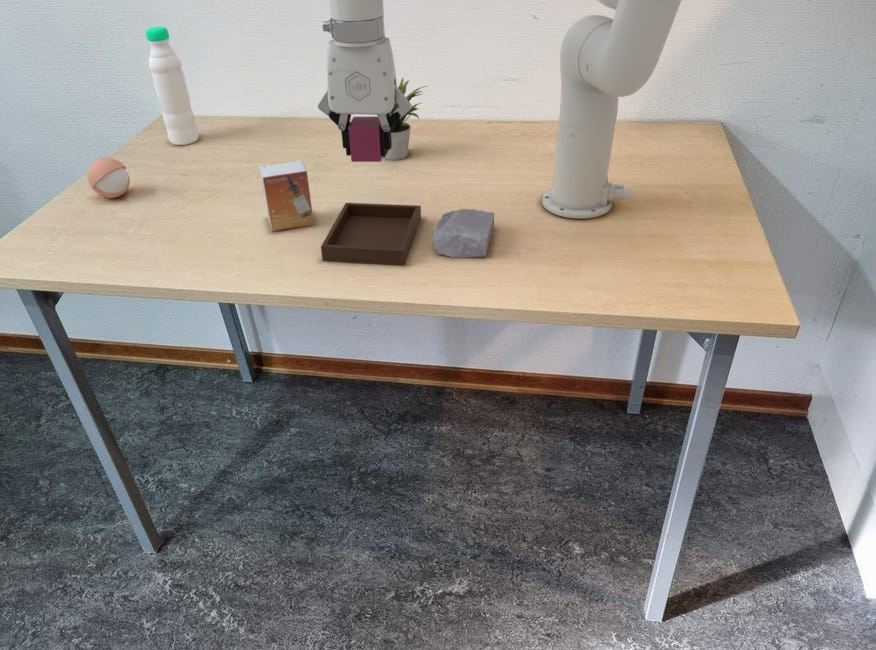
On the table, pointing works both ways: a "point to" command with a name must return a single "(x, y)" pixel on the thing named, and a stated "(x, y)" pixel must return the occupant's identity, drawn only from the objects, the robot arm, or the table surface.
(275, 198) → the small box
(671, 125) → the table surface
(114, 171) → the toy ball
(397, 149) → the house plant
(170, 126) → the water bottle
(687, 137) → the table surface
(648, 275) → the table surface
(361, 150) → the pink block
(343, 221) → the tray
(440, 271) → the table surface
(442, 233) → the stone block
